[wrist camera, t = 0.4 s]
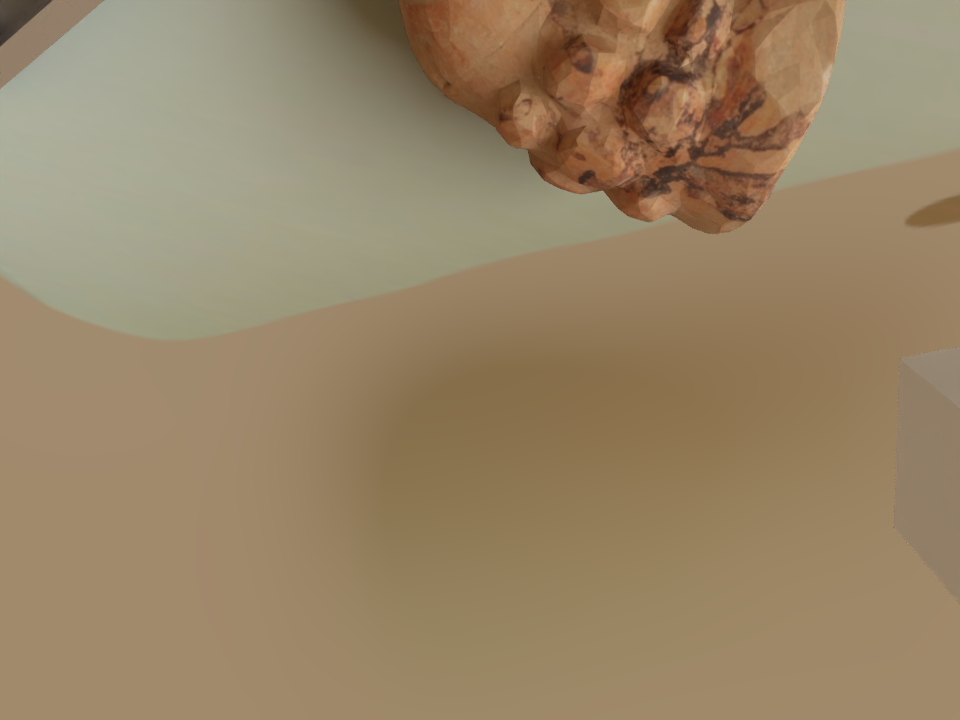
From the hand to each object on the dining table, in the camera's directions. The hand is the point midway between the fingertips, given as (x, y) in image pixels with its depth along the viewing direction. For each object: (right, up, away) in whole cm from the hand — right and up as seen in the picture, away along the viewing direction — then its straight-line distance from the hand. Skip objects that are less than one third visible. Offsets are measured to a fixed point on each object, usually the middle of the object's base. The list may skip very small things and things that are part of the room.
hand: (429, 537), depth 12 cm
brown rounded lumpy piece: (+5, +18, +21) cm, 28 cm away
